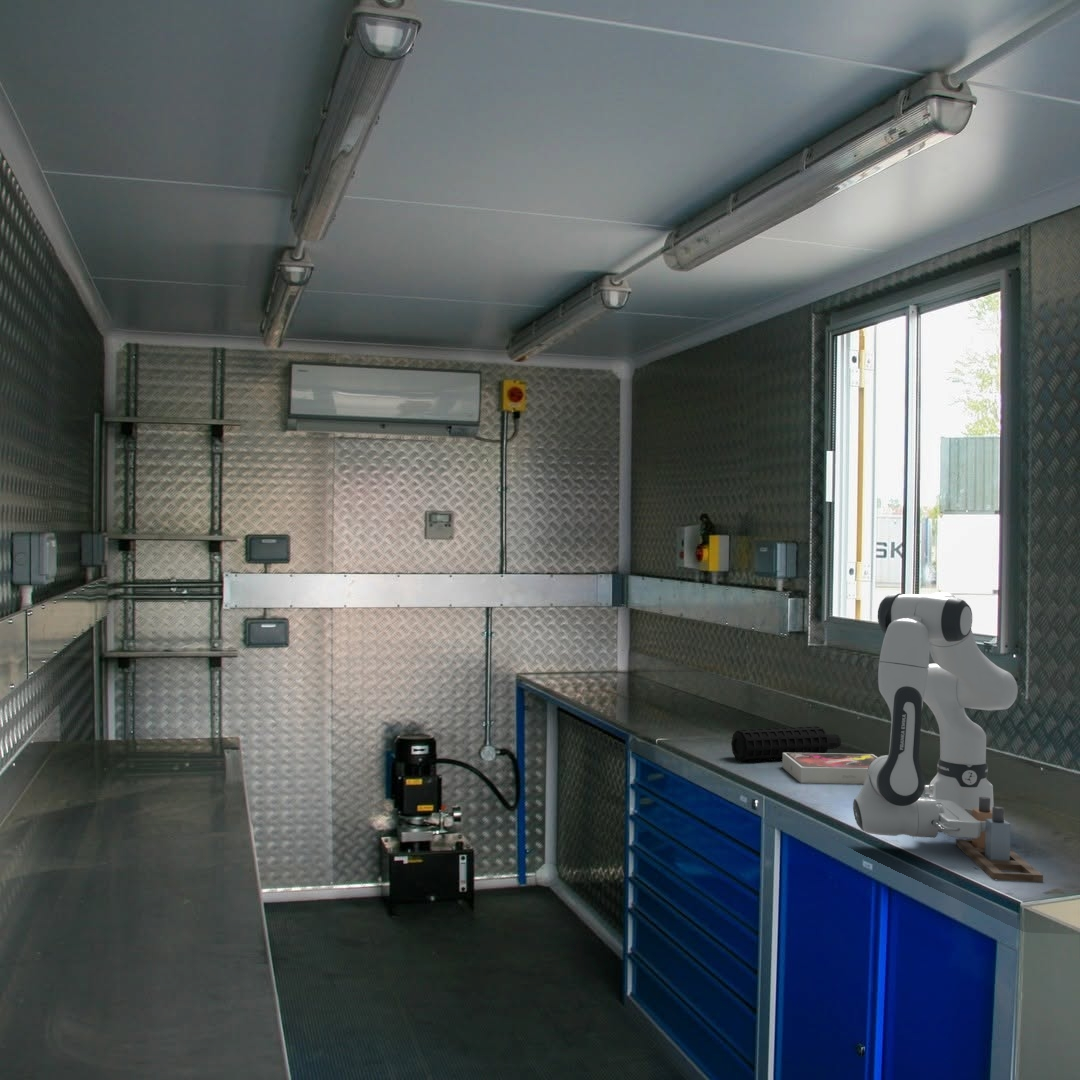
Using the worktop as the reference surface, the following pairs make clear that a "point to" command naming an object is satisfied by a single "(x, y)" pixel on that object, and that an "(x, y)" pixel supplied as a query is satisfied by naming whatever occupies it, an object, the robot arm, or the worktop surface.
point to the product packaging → (828, 767)
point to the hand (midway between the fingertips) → (988, 820)
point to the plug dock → (1000, 864)
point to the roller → (781, 742)
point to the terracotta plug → (981, 815)
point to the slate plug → (997, 836)
